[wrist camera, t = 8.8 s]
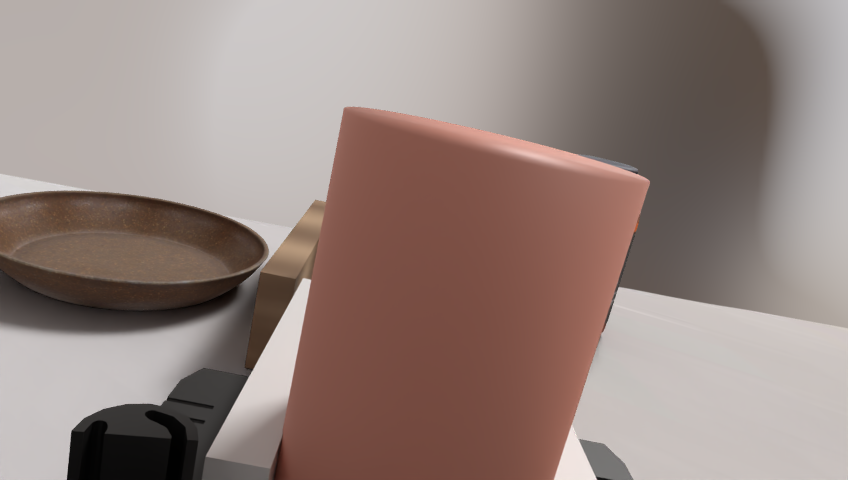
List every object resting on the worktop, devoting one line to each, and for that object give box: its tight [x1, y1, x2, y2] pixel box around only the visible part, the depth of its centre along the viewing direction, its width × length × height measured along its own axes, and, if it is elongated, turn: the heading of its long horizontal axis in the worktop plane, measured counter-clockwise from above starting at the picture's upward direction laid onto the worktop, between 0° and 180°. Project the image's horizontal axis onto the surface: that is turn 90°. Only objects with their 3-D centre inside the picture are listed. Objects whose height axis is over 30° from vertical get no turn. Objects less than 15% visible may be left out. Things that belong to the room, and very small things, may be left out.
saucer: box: [0, 191, 269, 311], centre depth 34 cm, size 15×15×3 cm
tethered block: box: [274, 107, 650, 480], centre depth 17 cm, size 21×6×13 cm, turn 1°
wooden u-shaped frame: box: [245, 200, 326, 369], centre depth 34 cm, size 16×12×4 cm
